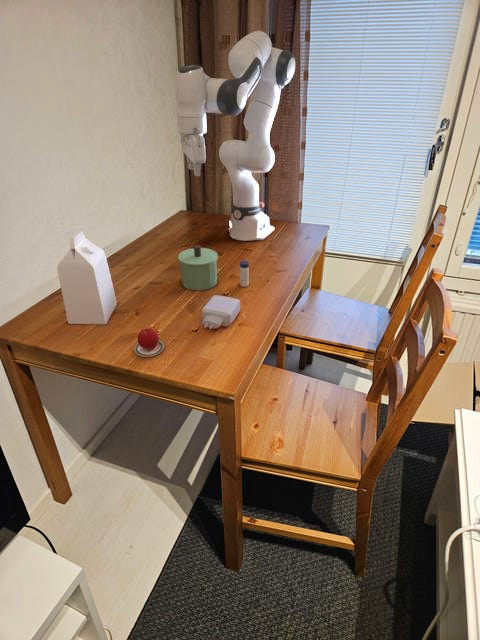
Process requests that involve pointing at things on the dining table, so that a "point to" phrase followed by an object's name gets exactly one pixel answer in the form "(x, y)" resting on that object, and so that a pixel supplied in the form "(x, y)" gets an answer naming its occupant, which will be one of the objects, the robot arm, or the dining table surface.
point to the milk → (86, 283)
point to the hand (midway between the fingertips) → (194, 172)
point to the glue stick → (244, 273)
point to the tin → (199, 276)
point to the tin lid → (197, 256)
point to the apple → (148, 343)
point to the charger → (220, 311)
